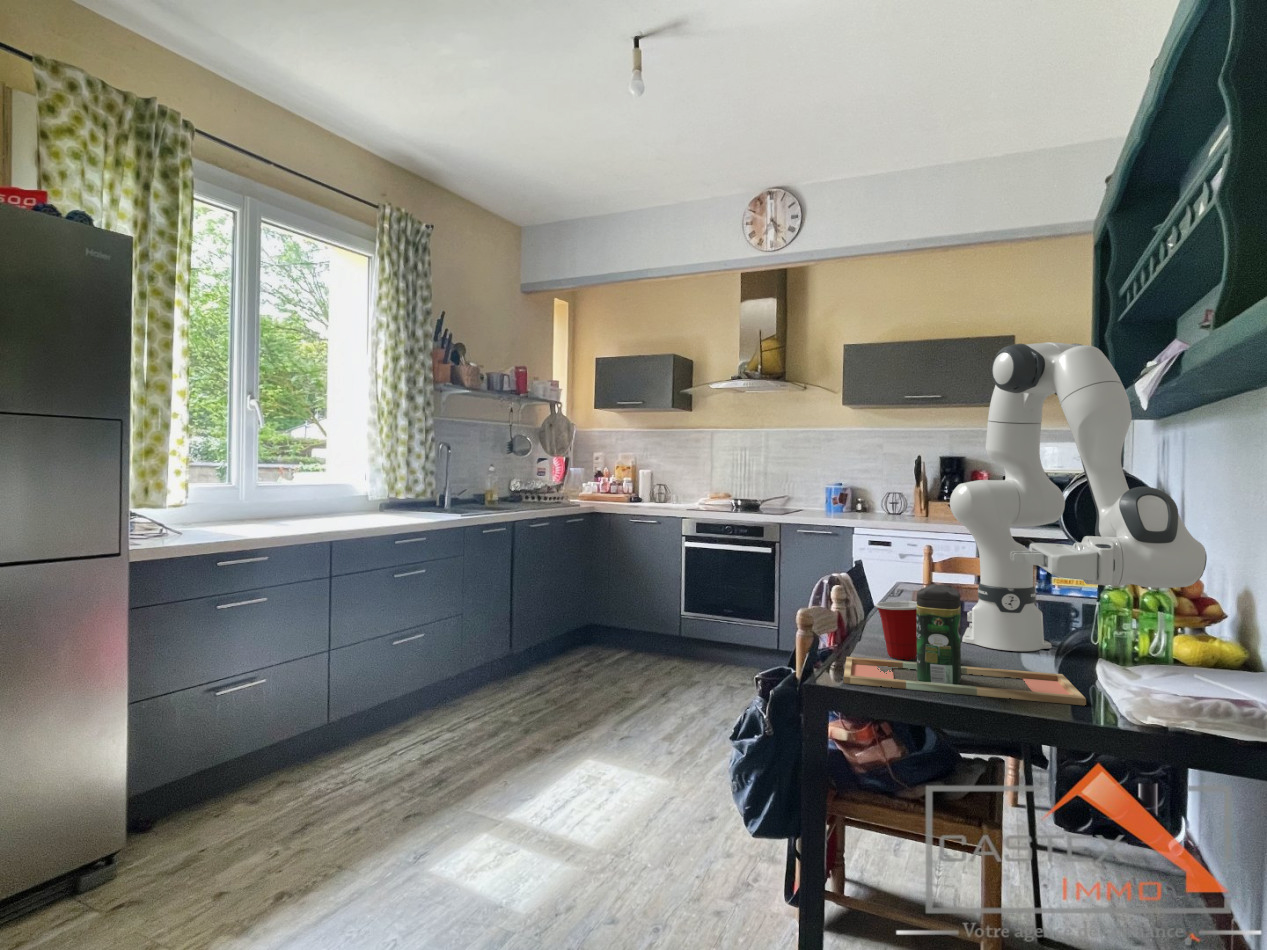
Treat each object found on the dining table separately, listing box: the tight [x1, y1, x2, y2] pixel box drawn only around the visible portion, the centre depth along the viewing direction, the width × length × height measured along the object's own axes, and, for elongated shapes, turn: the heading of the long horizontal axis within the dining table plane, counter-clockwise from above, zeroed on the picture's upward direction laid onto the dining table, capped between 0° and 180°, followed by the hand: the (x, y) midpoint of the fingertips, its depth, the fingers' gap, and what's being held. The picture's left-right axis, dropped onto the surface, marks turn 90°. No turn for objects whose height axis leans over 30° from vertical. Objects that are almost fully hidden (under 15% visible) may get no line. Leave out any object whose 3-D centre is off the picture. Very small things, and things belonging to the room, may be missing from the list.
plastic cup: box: [875, 600, 917, 661], centre depth 156 cm, size 11×11×12 cm
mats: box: [851, 664, 1070, 695], centre depth 137 cm, size 12×38×1 cm, turn 71°
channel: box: [843, 656, 1087, 706], centre depth 137 cm, size 16×40×1 cm, turn 71°
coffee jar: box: [916, 584, 962, 685], centre depth 137 cm, size 10×8×19 cm
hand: (1011, 556), depth 134 cm, fingers closed
